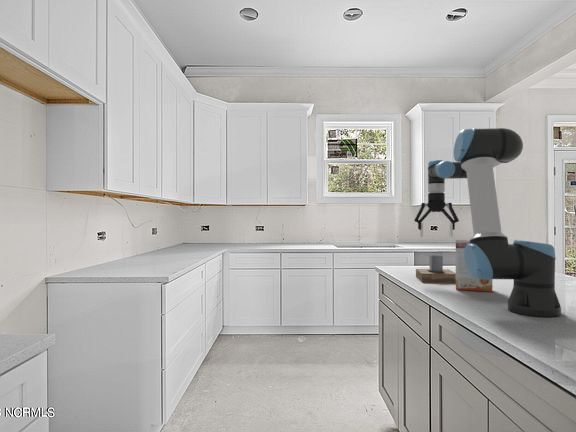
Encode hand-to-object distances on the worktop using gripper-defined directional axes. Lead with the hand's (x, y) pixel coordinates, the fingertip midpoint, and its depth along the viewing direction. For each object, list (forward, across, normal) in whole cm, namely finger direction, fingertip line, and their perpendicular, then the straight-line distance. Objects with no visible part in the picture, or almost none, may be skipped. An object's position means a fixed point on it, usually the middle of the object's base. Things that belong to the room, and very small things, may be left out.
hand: (436, 236), depth 195 cm
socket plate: (+21, 0, 0) cm, 21 cm away
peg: (+21, 0, 0) cm, 21 cm away
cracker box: (+21, -10, +24) cm, 33 cm away
